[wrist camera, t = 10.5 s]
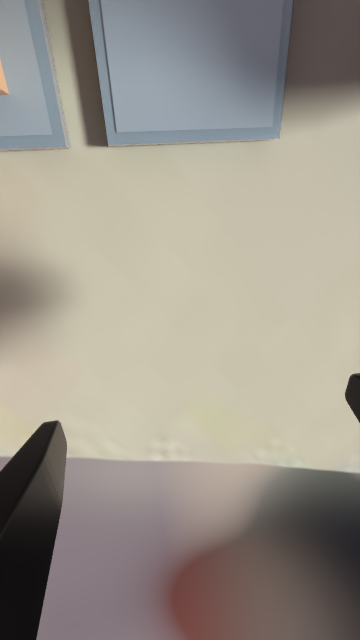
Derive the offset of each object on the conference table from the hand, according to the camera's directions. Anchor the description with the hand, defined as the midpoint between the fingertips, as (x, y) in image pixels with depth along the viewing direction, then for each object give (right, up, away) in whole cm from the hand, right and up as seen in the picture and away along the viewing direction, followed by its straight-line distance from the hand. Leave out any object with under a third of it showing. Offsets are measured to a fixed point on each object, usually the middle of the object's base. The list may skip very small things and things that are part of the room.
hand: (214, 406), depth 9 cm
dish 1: (-1, +16, +5) cm, 17 cm away
